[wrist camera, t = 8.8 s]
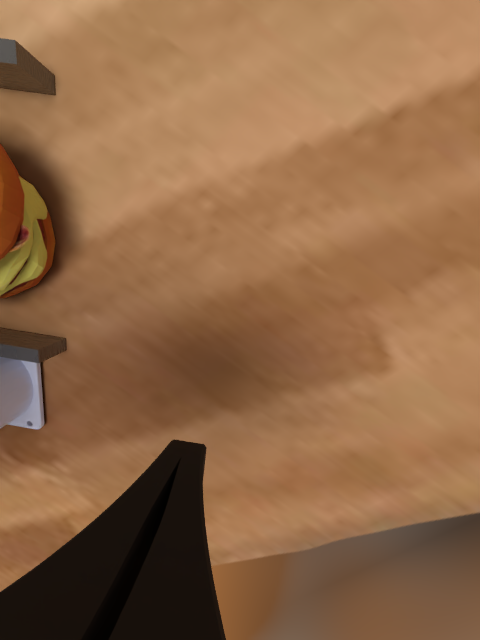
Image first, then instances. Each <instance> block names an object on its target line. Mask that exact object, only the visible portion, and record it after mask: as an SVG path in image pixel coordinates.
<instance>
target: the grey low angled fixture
mask: <svg viewBox="0 0 480 640" xmlns="http://www.w3.org/2000/svg"><path fill="white" fill-rule="evenodd" d="M0 88H6V89H14V90H22V91H29V92H37V93H44V94H52V95H55V79H54V75H53V74H52V73H51V72H50V71H49V70H48V69H47V68H46V67H45V66H43V65H42V64H41V63H40V62H39V61H38V60H37V59H36V58H34V57H33V56H32V55H31V54H30V53H29V52H28V51H27V50H26V49H24V48H23V47H22V46H21V45H20V44H19V43H18V42H17V41H15V40H9V39H1V38H0ZM65 350H66V338H61V337H54V336H48V335H42V334H36V333H29V332H23V331H17V330H11V329H5V328H0V357H4V358H10V359H16V360H22V361H28V362H34V363H41V362H43V361H45V360H47V359H49V358H51V357H53V356H55V355H57V354H59V353H61V352H63V351H65Z"/></svg>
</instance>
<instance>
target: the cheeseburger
mask: <svg viewBox="0 0 480 640" xmlns="http://www.w3.org/2000/svg"><path fill="white" fill-rule="evenodd" d="M55 242H56V241H55V237H54V232H53V227H52V223H51V218H50V214H49V212H48V211H47V208H46V205H45V203H44V200H43V199H42V198H41V196H40V195H39V194H38V192H37V191H36V189H35V188H34V186H33V185H32V184H30V183H29V182H27V181H26V180H24V179H23V178H22V177H21V176H20V175H19V174H18V172H17V169H16V168H15V166H14V164H13V163H12V161H11V159H10V158H9V156H8V154H7V153H6V151H5V150H4V148H3V146H2V145H1V144H0V298H6V297H10V296H13V295H16V294H18V293H20V292H22V291H24V290H27V289H29V288H31V287H33V286H35V285H37V284H38V283H39V282H40V280H41V279H42V278H43V277H44V275H45V274H46V273H47V271H48V270H49V269H50V268H51V266H52V261H53V255H54V248H55Z"/></svg>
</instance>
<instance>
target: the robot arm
mask: <svg viewBox="0 0 480 640" xmlns="http://www.w3.org/2000/svg"><path fill="white" fill-rule="evenodd" d="M7 424H8V425H14V426H19V427H25V428H31V429H40V428H42V427H43V426H44V409H43V396H42V382H41V368H40V363H34V362H28V361H22V360H16V359H10V358H4V357H0V429H1V428H2V427H4V426H5V425H7ZM205 456H206V446H205V445H204V444H198V443H192V442H186V441H179V440H172V441H171V442H170V443H169V444H168V446H167V447H166V448H165V449H164V451H163V452H162V453H161V454H160V455H159V456H158V458H157V459H156V460H155V461H154V462H153V463H152V464H151V465H150V466H149V468H148V469H147V470H146V471H145V472H144V473H143V474H142V475H141V476H140V477H139V478H138V479H137V480H136V481H135V482H134V483H133V484H132V485H131V486H130V487H129V488H128V489H127V490H126V491H125V492H124V493H123V494H122V495H121V496H120V497H119V498H118V499H117V500H116V501H115V502H114V503H113V504H112V505H111V506H109V507H108V508H107V509H106V510H105V511H104V512H103V513H102V514H101V515H100V516H98V517H97V518H96V519H95V520H94V521H93V522H92V523H90V524H89V525H88V526H87V527H86V528H84V529H83V530H82V531H81V532H80V533H79V534H77V535H76V536H75V537H74V538H72V539H71V540H70V541H69V542H67V543H66V544H65V545H64V546H62V547H61V548H60V549H59V550H57V551H56V552H55V553H53V554H52V555H51V556H50V557H48V558H47V559H46V560H44V561H43V562H42V563H40V564H39V565H38V566H36V567H35V568H34V569H32V570H31V571H30V572H28V573H27V574H25V575H24V576H23V577H21V578H20V579H18V580H17V581H15V582H14V583H13V584H11V585H10V586H8V587H7V588H6V589H4V590H3V591H1V592H0V640H226V638H225V634H224V629H223V624H222V620H221V615H220V610H219V605H218V600H217V596H216V591H215V586H214V581H213V575H212V570H211V563H210V557H209V550H208V543H207V536H206V527H205V517H204V505H203V474H204V465H205Z"/></svg>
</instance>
